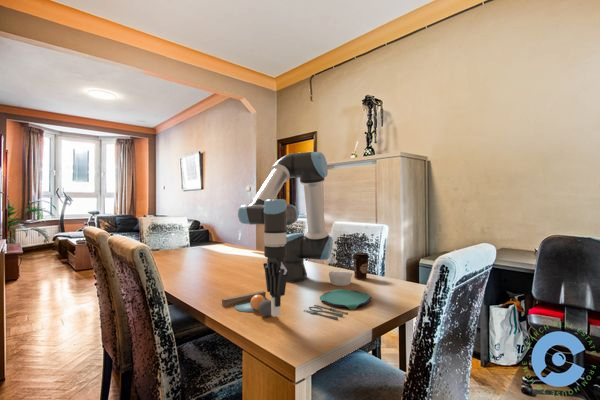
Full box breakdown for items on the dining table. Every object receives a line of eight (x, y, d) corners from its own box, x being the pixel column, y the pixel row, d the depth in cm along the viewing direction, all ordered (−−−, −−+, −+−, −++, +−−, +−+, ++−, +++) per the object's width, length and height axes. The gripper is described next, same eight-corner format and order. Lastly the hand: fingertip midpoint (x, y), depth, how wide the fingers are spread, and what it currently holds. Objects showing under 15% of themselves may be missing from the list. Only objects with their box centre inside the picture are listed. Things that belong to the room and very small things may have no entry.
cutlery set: (379, 299, 125) (379, 294, 125) (341, 324, 102) (340, 317, 102) (337, 291, 138) (337, 286, 138) (294, 311, 114) (294, 305, 114)
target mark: (266, 299, 126) (266, 298, 126) (271, 310, 113) (271, 309, 113) (233, 302, 122) (233, 301, 122) (235, 313, 110) (235, 313, 110)
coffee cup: (371, 277, 160) (371, 252, 160) (366, 281, 153) (366, 255, 153) (356, 275, 165) (355, 251, 165) (349, 279, 158) (349, 253, 158)
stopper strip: (265, 297, 128) (265, 291, 128) (224, 306, 117) (224, 300, 117) (263, 296, 129) (263, 290, 129) (222, 305, 119) (222, 298, 119)
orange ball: (266, 309, 116) (262, 295, 118) (267, 305, 111) (263, 290, 114) (252, 314, 114) (248, 299, 116) (252, 309, 109) (248, 295, 112)
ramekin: (324, 282, 152) (324, 271, 152) (344, 279, 157) (344, 269, 157) (336, 288, 142) (336, 276, 142) (356, 285, 147) (356, 274, 147)
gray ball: (279, 304, 108) (275, 314, 110) (268, 294, 110) (264, 304, 112) (269, 312, 103) (265, 322, 106) (258, 301, 105) (253, 312, 108)
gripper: (295, 246, 100) (295, 318, 100) (275, 242, 111) (275, 307, 111) (275, 248, 96) (276, 324, 96) (256, 243, 106) (256, 311, 106)
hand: (275, 315), depth 103 cm, fingers closed
